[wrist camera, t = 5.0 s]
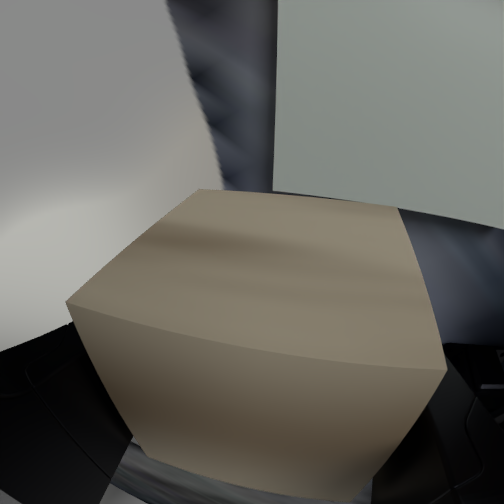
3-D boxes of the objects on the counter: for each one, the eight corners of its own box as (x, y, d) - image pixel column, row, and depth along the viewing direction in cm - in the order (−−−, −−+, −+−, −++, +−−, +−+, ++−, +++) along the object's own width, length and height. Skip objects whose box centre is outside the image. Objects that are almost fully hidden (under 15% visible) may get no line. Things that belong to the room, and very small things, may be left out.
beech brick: (362, 355, 9) (350, 502, 5) (213, 332, 11) (147, 456, 6) (396, 206, 7) (447, 370, 3) (199, 189, 8) (64, 301, 4)
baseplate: (500, 220, 15) (509, 230, 14) (277, 182, 18) (272, 190, 17) (520, 2, 8) (532, -2, 7) (283, -49, 11) (278, -59, 10)
